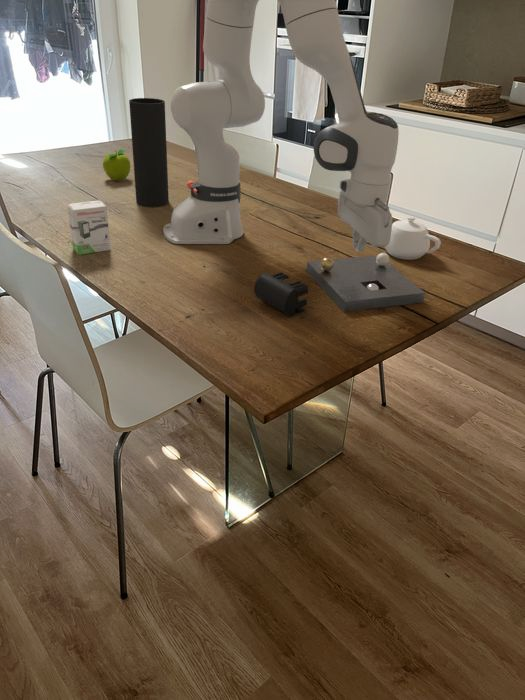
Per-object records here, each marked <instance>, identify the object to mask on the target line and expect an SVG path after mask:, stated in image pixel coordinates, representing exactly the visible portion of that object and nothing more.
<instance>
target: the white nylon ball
mask: <svg viewBox="0 0 525 700" xmlns="http://www.w3.org/2000/svg"><path fill="white" fill-rule="evenodd" d="M377 255H378V256H377ZM377 255H376V256H377V257H376V262H377V264H378V265H380V266H385V265H387V264H388V263H389V262H390V256H389V254H387V253H386V252H380V253H378V254H377ZM389 264H390V263H389Z"/></svg>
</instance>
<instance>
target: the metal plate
mask: <svg viewBox="0 0 525 700" xmlns="http://www.w3.org/2000/svg"><path fill="white" fill-rule="evenodd" d="M378 255H379V254H377V255H369V256H367V255H366V256H356V257H345V258H331V259H332V260H333V263H334V266H333V268H332V269H331V270H330V271H324V270H322V269H321V267H320V262H321V260H322V259H321V260H310V261H309V260H308V261H306V272H307V274H309V275H310V277H311V278H312V279H313V280H314V281H315V282H316V283H317V284H318V286H319V287H320V288H321V289H322V290H323V291H324V292H325V293H326V294H327V296H329V297H330V299H331V300H332V301H333V302H334V304H336V306H338V307H339V309H341V311H342V312H343V313H345V312H346V313H347V312H354V311H361V310H370V309H378V308H379V309H381V308H386V307H387V308H388V307H395V306H404V305H405V306H407V305H414V304H422V303H423V304H424V300H425V295H426V292H425V291H424V290H422V289H421V288H420V287H419V286H418V285H417V284H415V283H414V282H413V281H411V279H409V278H407V277H406V275H404V274H403V273H402V272H401V271H399V270H398V269H397V268H396V267H394V266H393V265H392V264H390V263H388V264H387V265H385V266H380V265H378V264H377V262H376V257H377V256H378ZM372 283H373V284H376V285H377V286H378V287H379V290H372V291H369V290H368V289H367V288H366V287H367V285H369V284H372Z"/></svg>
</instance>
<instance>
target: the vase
mask: <svg viewBox="0 0 525 700" xmlns="http://www.w3.org/2000/svg"><path fill="white" fill-rule="evenodd" d="M128 103H129V115H130V116H129V117H130V131H131V147H132V148H131V149H132V159H133V160H132V161H133V173H134V174H133V175H134V185H135V186H134V187H135V201H136V204H137V205H138V206H140V207H144V208H145V207H146V208H159V207H164V206H166V205H168V204H169V203H170V199H169V198H170V197H169V178H168V176H169V175H168V154H167V153H168V151H167V150H168V148H167V147H168V146H167V128H166V127H167V125H166V124H167V123H166V102H165V100H163V99H161V98H160V99H159V98H152V97H149V98H148V97H139V98H131V99H129V101H128Z"/></svg>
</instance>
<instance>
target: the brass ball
mask: <svg viewBox="0 0 525 700" xmlns="http://www.w3.org/2000/svg"><path fill="white" fill-rule="evenodd" d="M332 259H333V258H331V257H324V258H322V259H321V262H320V267H321V269H322V270H324V271H330V270H331V269H332V268H333V266H334V263H333V260H332Z"/></svg>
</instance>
